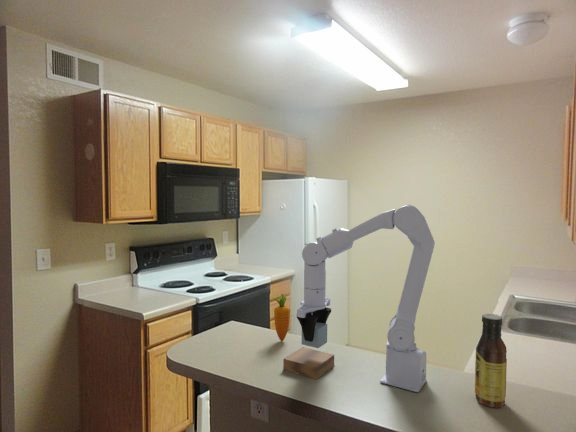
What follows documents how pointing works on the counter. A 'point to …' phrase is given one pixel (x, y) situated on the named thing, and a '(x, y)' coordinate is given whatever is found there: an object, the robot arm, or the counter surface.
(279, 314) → the carrot
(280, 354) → the counter surface
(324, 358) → the walnut base
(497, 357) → the sauce bottle
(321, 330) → the slate-blue cube
